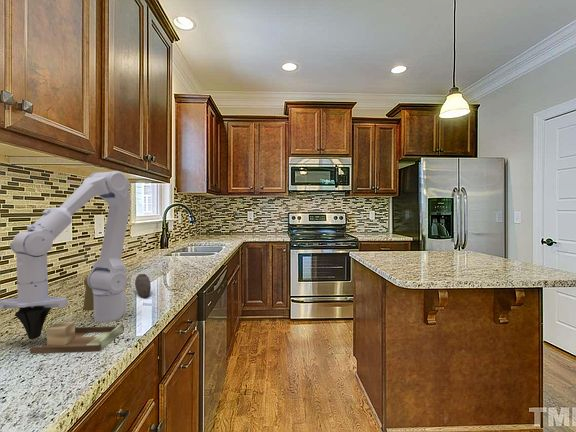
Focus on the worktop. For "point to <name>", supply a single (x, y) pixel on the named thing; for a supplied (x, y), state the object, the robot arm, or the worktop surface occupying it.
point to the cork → (88, 297)
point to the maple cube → (61, 333)
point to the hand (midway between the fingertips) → (34, 337)
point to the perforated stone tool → (143, 285)
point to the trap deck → (84, 341)
